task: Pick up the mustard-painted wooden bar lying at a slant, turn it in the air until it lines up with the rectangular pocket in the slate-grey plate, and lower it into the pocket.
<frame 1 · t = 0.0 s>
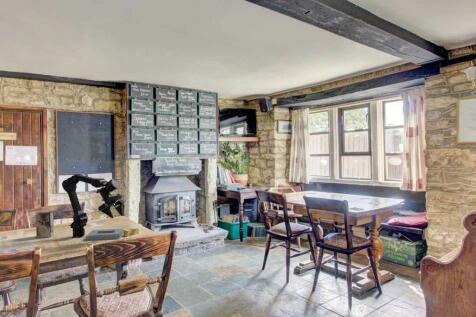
hand: (117, 216, 205), 15 cm above the table, tool tilted 35°, fingers open, 9 cm apart
keyed plate: (105, 236, 214), on the table
coffee box: (45, 236, 215), on the table
bar: (131, 234, 219), on the table
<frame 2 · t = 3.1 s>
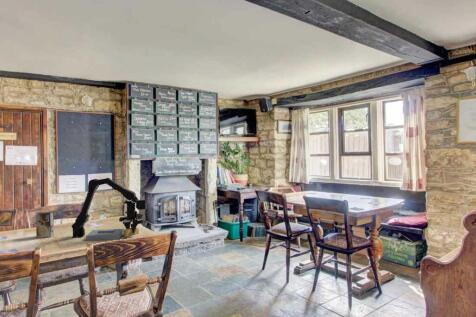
hand: (131, 232, 219), 1 cm above the table, tool pointing down, fingers closed on bar, 5 cm apart
bar: (131, 234, 219), on the table, touching gripper
everything else where it was.
when the fingers open (4 cm above the table, at t = 9.0 s): bar drops 2 cm, resting on keyed plate.
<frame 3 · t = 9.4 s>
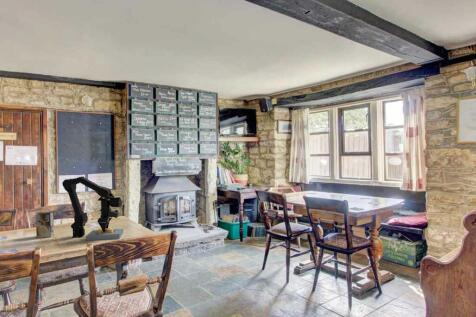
hand: (105, 230, 214), 4 cm above the table, tool pointing down, fingers open, 9 cm apart
bar: (105, 234, 214), point 1 cm above the table, touching keyed plate
everything else where it was.
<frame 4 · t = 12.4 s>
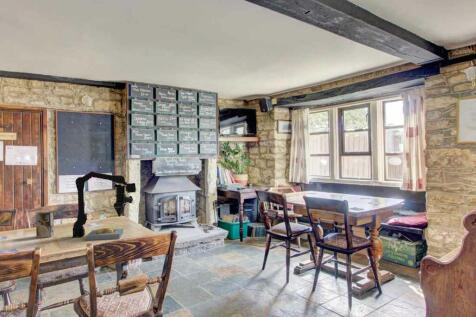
hand: (120, 215, 225), 12 cm above the table, tool pointing down, fingers open, 9 cm apart
nothing on the table moved.
at the end: bar 0.1 cm off-centre on the keyed plate, point 1.0 cm above the keyed plate's base; bar tilted 0°; the gripper is holding nothing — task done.
